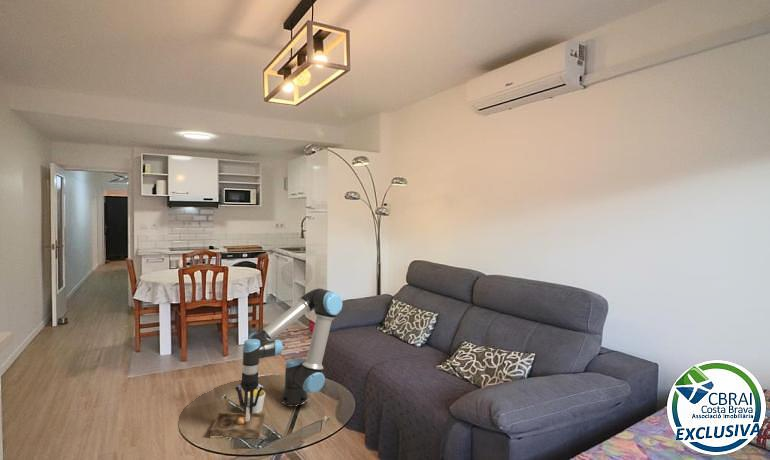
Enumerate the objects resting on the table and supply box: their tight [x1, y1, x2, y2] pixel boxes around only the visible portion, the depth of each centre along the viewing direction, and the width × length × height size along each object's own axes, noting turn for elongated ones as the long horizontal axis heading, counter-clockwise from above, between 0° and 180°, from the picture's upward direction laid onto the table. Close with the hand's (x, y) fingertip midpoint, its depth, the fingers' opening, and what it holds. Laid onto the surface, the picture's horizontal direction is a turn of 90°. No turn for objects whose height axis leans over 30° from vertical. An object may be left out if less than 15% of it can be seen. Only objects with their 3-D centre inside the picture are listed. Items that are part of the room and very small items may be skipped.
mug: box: [247, 388, 266, 413], centre depth 221 cm, size 14×10×10 cm
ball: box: [238, 417, 245, 425], centre depth 203 cm, size 4×4×4 cm
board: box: [209, 412, 266, 439], centre depth 203 cm, size 22×16×4 cm
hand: (247, 420), depth 203 cm, fingers closed
